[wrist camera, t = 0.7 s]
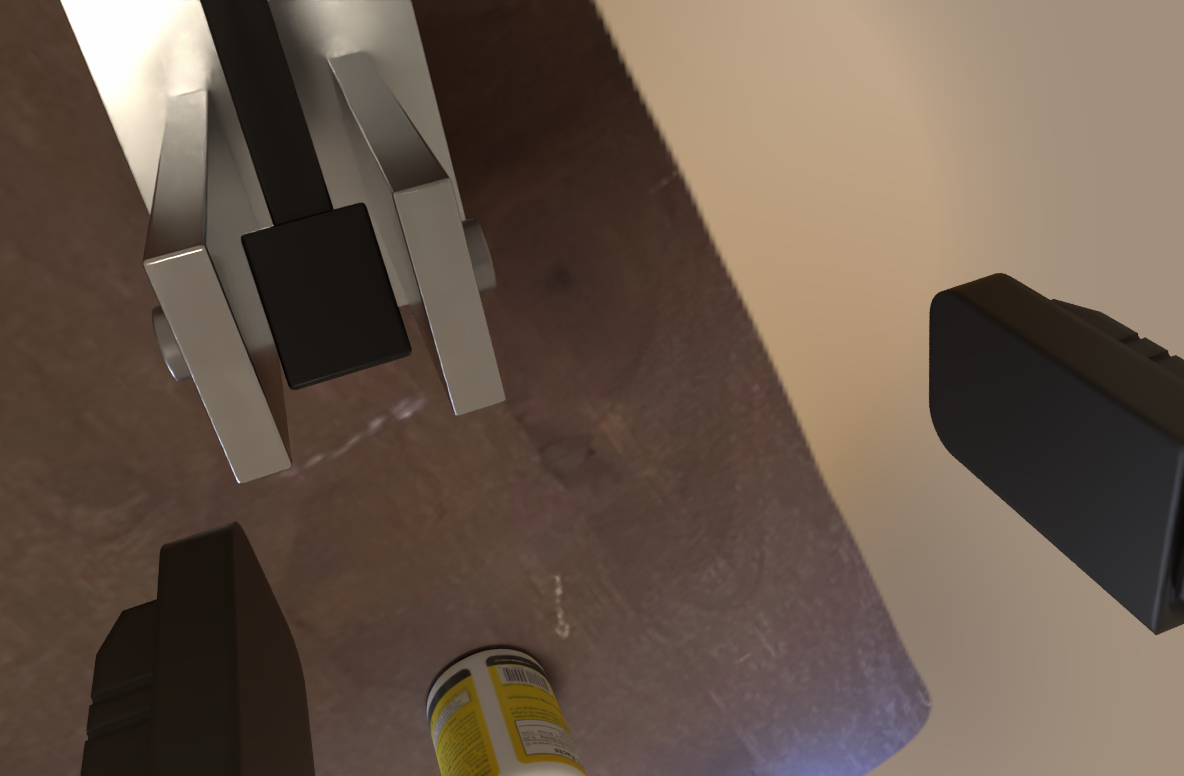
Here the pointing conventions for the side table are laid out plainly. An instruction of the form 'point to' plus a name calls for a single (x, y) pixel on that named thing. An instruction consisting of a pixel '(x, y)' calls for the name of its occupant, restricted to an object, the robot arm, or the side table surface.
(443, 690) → the supplement bottle
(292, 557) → the side table surface
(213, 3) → the lever
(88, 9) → the bracket
